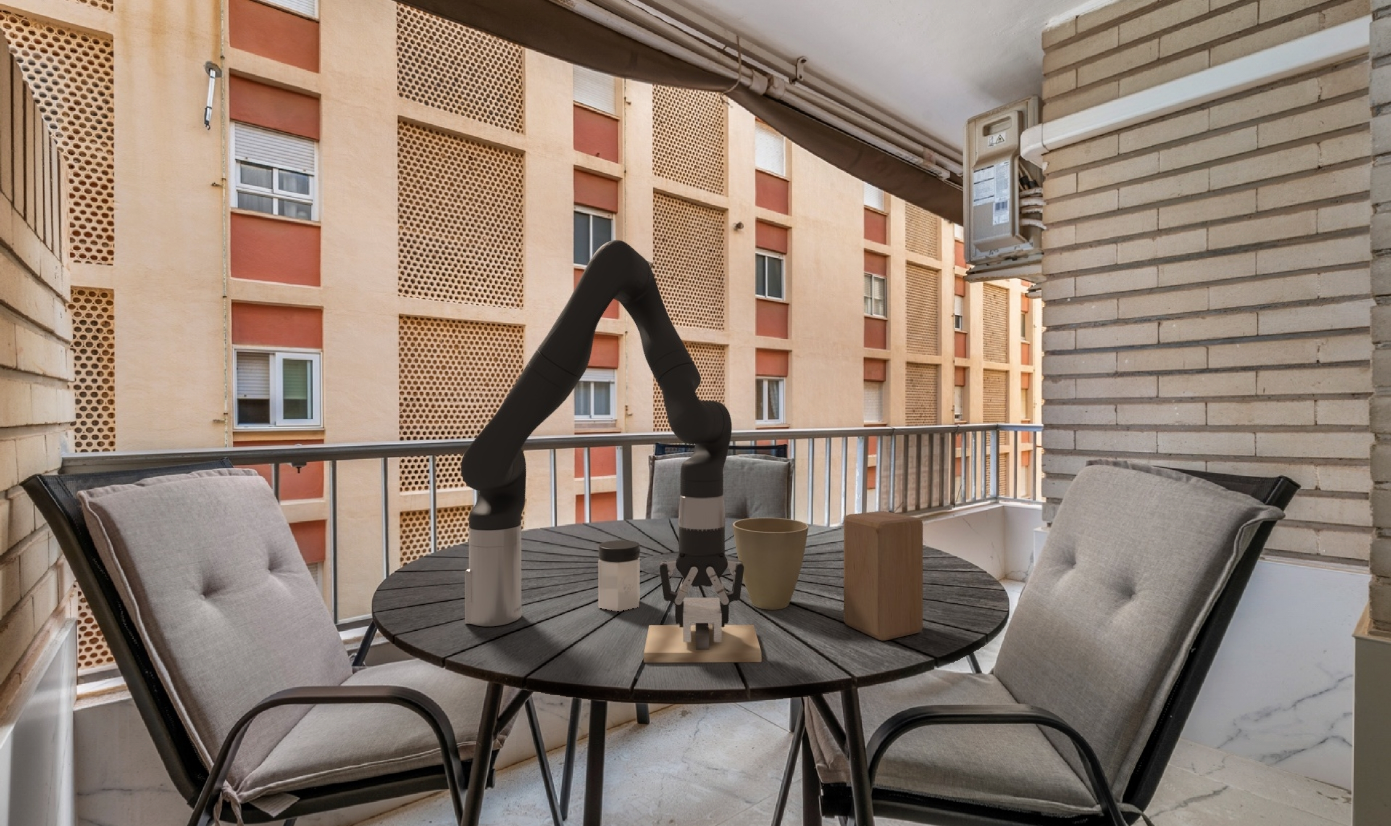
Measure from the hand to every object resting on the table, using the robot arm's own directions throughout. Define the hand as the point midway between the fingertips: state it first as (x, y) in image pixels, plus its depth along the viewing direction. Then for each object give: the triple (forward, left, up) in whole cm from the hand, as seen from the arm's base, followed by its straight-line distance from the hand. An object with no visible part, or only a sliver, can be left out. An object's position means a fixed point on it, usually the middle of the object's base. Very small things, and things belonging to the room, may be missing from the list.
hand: (701, 625), depth 100 cm
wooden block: (+32, +8, -4) cm, 33 cm away
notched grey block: (0, 0, -1) cm, 1 cm away
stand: (0, 0, -4) cm, 4 cm away
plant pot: (+14, +22, -4) cm, 26 cm away
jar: (-16, +22, -4) cm, 27 cm away
